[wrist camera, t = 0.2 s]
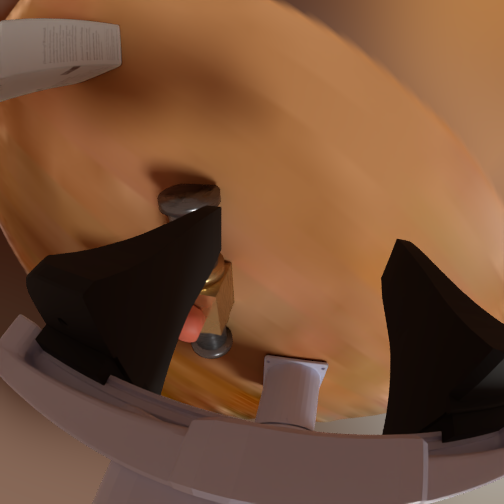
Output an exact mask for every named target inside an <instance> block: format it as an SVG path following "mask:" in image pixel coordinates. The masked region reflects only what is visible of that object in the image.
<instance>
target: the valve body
mask: <svg viewBox="0 0 504 504" xmlns="http://www.w3.org/2000/svg"><path fill="white" fill-rule="evenodd" d="M233 303H234V291H233V277H232V263H228V262H224V258H223V256H222V255H221V253H220V254H219V257H218V264H217V266H216V268H215V269H213V271H212V273H211V274H210V276H209V278H208V280H207V281H206V283H205V285H204V287H203V289H202V290H201V292H200V294H199V296H198V297H197V299H196V301H195V303H194V304H193V306H195V307H197V308H198V309H200V310H201V311H202V312H203V314H204V315H205V318H206V321H205V323H204V326H203V328H202V330H201V332H200V333H212V334H217V335H222V332H223V330H224V327H225V325H226V323H227V322H228V319H229V314H230V311H231V309H232V306H233Z"/></svg>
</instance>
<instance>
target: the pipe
mask: <svg viewBox="0 0 504 504" xmlns="http://www.w3.org/2000/svg"><path fill="white" fill-rule="evenodd" d="M157 199H158V205H159V210H160V212H161V213H163V214H165V215H167V216H168V218H169V222H171V221H173V220H175V219H177V218H180V217H182V216H184V215H186V214H188V213H190V212H192V211H194V210H196V209H198V208H201V207H203V206H206V205H209V206H216V207H217V206H218V205H219V204H220V202H221V198H220V189H219V187H218V186H216V185H203V184H178V185H175V186H172V187H169V188H167V189H165V190H164V191H162V192H161V193H160V194H159V195H158V198H157ZM217 264H218V259H217V262H216V264H215V267H214V269H215V268H216V266H217ZM232 344H233V339H232V333H231V331H230V329H229V328H226V325H225V327H224V330H223V332H222V335H217V334H212V333H200V334H199V337H198V339H197V340H196V341H195V342H191V345H192V348H193V350H194V351H195V352H196V354H198V355H199V356H201V357H204V358H209V359H213V358H218V357H221V356H223V355H225V354H226V353H227V352H228V351H229V350H230V349H231V347H232Z"/></svg>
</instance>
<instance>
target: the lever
mask: <svg viewBox="0 0 504 504" xmlns="http://www.w3.org/2000/svg"><path fill="white" fill-rule="evenodd" d="M205 321H206V318H205V315H204V314H203V312H202V311H201V310H200V309H198V308H197V307H195V306H192V308H191V310H190V312H189V314H188V316H187V319H186V321H185V324H184V326H183V328H182V331H181V333H180V336H179V340H181V341H184V342H195V341H196V340H197V339H198V337H199V334H200V332H201V330H202V328H203V326H204V323H205Z"/></svg>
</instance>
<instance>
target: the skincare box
mask: <svg viewBox="0 0 504 504" xmlns="http://www.w3.org/2000/svg"><path fill="white" fill-rule="evenodd" d="M121 63H122V59H121V40H120V29H119V25H116V24H109V23H102V22H94V21H85V20H73V19H48V18H37V19H16V20H4V21H1V22H0V102H2V101H5V100H8V99H11V98H15V97H18V96H22V95H26V94H29V93H33V92H37V91H41V90H46V89H50V88H55V87H61V86H67V85H72V84H77V83H80V82H83V81H86V80H88V79H91V78H93V77H96V76H98V75H100V74H103V73H105V72H107V71H110V70H112V69H115V68H117V67H119V66H120V65H121Z"/></svg>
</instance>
